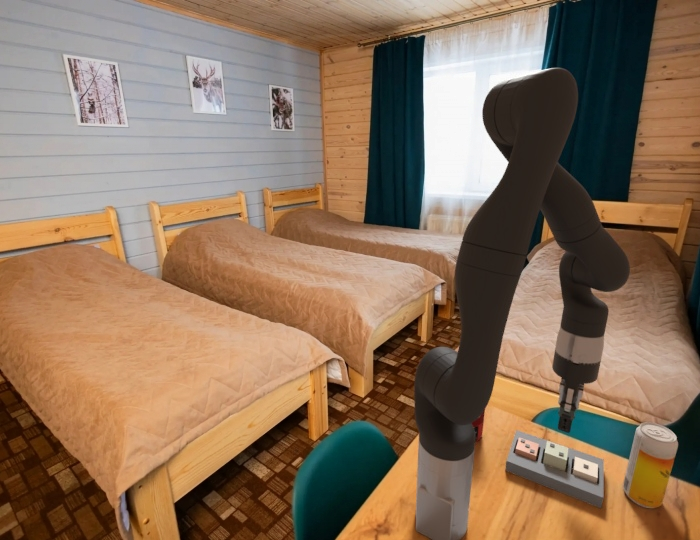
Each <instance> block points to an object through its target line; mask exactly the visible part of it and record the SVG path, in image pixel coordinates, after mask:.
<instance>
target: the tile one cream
mask: <svg viewBox="0 0 700 540" xmlns="http://www.w3.org/2000/svg"><path fill="white" fill-rule="evenodd" d="M571 474H572V475H575V476H578V477H580V478H583V479H586V480H588V481H591V482H594V483H597V479H598V464H595V463H592V462H590V461H587V460H584V459H581V458H578V457H575V460H574V465H573V469H572V472H571Z"/></svg>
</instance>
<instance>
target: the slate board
mask: <svg viewBox="0 0 700 540" xmlns="http://www.w3.org/2000/svg"><path fill="white" fill-rule="evenodd" d="M519 437H520V438H523V439H526V440H528V441H531V442H534V443H537V444H539V447H538V454H537V458H538V459H537V460H536V461H534V460H531V459H529V458H526V457H523V456H520V455H518V454H515V451H516V446H517V443H518V440H519ZM547 441H549V442H552V443H555V444H558V445H561V446H564V447H567V448H568V456H567V463H566V471H565V472H564V471H562V470H559V469H556V468H553V467H551V466H548V465H545V464H543V459H544V454H545V449H546V444H547ZM575 457H578V458H581V459H584V460H587V461H590V462H592V463H595V464H598V479H597V483H594V482H591V481H588V480H586V479H583V478H580V477H578V476H575V475H572V470H573V465H574V460H575ZM505 461H506V462H505V471H506V472H509V473H511V474H513V475H516V476H518V477H521V478H523V479H524V480H525V479H526V480H528V481H530V482H533V483H536V484H538V485H541V486H544V487H547V488H549V489H552V490H554V491H556V492H558V493H561V494H564V495H566V496H569V497H572V498H574V499H577V500H579V501H582V502H583V503H586V504H589V505H590V506H591V505H592V506H595V507H596V508H600V509H602V507H603V502H604V501H603V500H604V481H605V480H604V478H605V477H604V472H605V471H604V468H605V467H604V466H605V465H604V463H605V462H604V461H605V459H603V458H601V457H599V456H595V455H592V454H589V453H586V452H583V451H580V450H576V449H574V448H571V447H568V446H566V445H562V444H559V443H556V442H553V441H550V440H548V439H544V438H541V437H538V436H536V435H532V434H530V433H526V432H523V431H522V430H518V429H516V430H515V433H514V436H513V440H512V442H511V445H510V448H509V452H508V454H507V458H506V460H505Z"/></svg>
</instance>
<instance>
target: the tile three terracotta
mask: <svg viewBox="0 0 700 540" xmlns="http://www.w3.org/2000/svg"><path fill="white" fill-rule="evenodd" d="M538 447H539V444H537V443H534V442H531V441H528V440H526V439H523V438H520V437H519V440H518V443H517V446H516V450H515V454H518V455H520V456H523V457H526V458H529V459H531V460H534V461H537V460H538V459H537V458H538V456H537V454H538Z"/></svg>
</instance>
